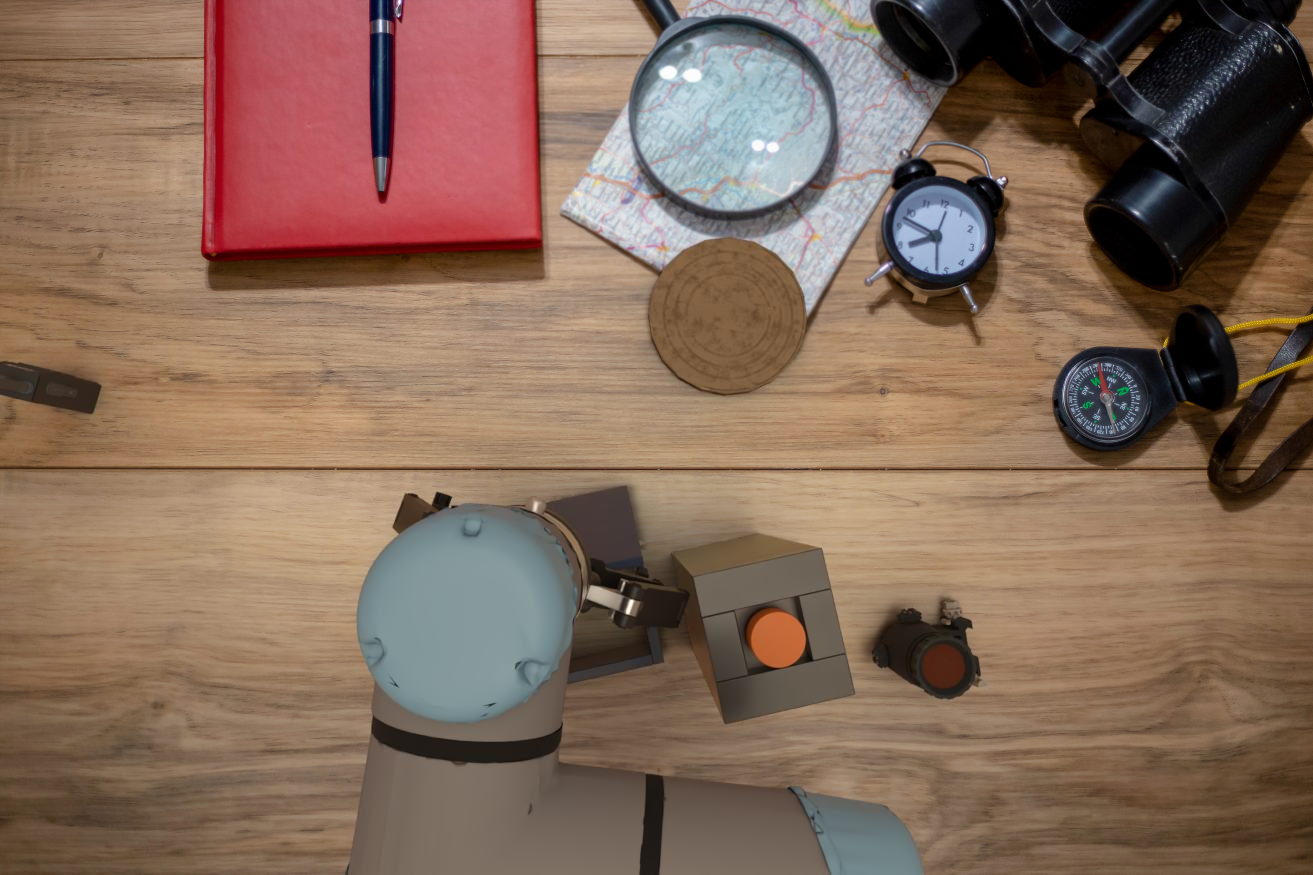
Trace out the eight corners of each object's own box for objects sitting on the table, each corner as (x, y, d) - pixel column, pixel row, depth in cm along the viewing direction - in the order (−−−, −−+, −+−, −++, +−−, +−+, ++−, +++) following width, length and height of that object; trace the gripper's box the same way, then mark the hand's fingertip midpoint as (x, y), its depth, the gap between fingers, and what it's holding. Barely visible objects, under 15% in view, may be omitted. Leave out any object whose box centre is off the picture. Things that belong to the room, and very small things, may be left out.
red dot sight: (1023, 706, 75) (908, 723, 74) (962, 675, 89) (865, 689, 88) (1008, 611, 75) (894, 627, 75) (949, 594, 89) (853, 608, 89)
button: (804, 654, 59) (811, 661, 57) (752, 666, 59) (757, 673, 57) (792, 602, 59) (799, 606, 57) (740, 613, 59) (745, 618, 57)
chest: (661, 646, 88) (664, 662, 79) (533, 674, 87) (523, 694, 78) (627, 490, 89) (627, 488, 80) (501, 517, 88) (487, 519, 79)
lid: (644, 565, 63) (641, 555, 63) (467, 604, 63) (464, 594, 63) (628, 492, 80) (626, 484, 79) (487, 523, 79) (485, 515, 79)
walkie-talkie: (111, 384, 88) (-40, 349, 68) (101, 416, 88) (-54, 390, 68) (65, 372, 88) (-100, 334, 68) (55, 404, 88) (-114, 375, 68)
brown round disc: (645, 394, 90) (646, 390, 87) (650, 242, 91) (651, 233, 88) (799, 399, 90) (805, 396, 87) (802, 248, 91) (808, 240, 88)
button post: (779, 629, 88) (855, 694, 58) (692, 649, 88) (724, 724, 58) (757, 532, 89) (822, 547, 59) (671, 551, 89) (692, 576, 59)
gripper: (766, 589, 45) (723, 561, 67) (313, 428, 45) (414, 451, 66) (719, 728, 45) (690, 656, 66) (260, 565, 45) (378, 545, 66)
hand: (552, 553), depth 66 cm, fingers open, 13 cm apart
